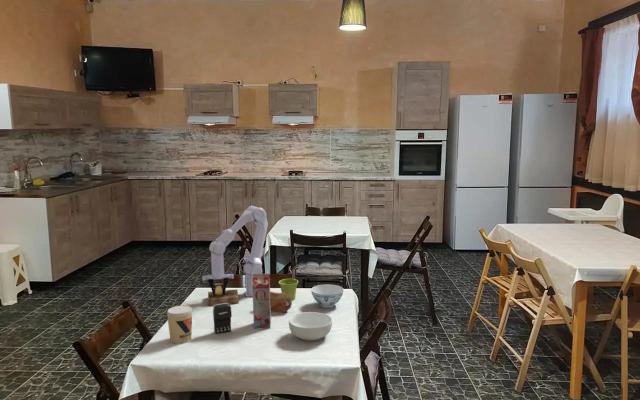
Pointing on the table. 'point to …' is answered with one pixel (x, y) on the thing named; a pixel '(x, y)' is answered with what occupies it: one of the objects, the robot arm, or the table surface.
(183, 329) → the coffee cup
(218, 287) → the bushing
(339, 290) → the chinaware
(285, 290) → the plant pot
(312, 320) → the cereal bowl
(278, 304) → the tin
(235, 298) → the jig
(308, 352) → the table surface
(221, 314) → the battery charger
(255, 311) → the juice carton
